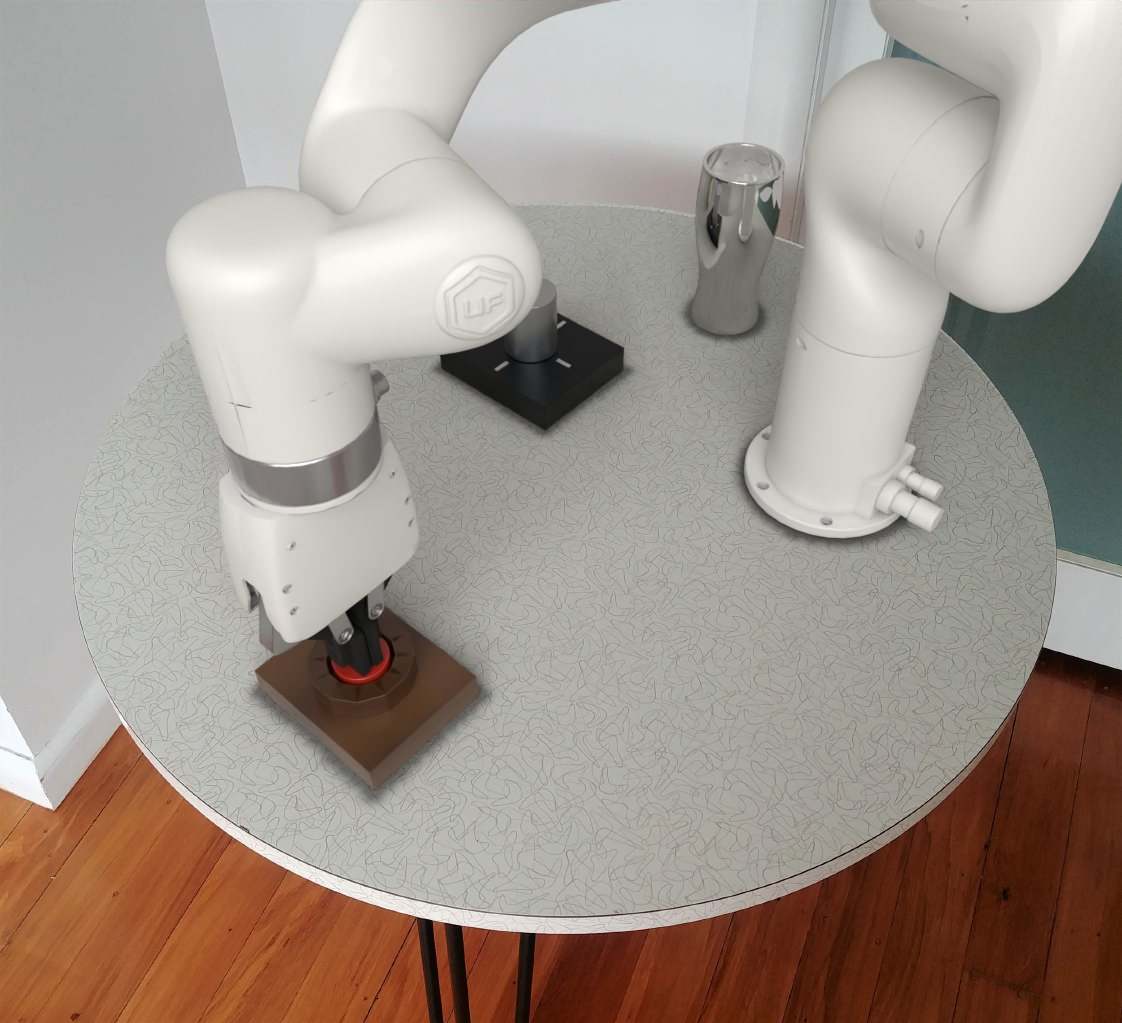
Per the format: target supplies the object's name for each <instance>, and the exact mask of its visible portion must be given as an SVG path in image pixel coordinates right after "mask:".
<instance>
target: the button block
mask: <svg viewBox="0 0 1122 1023" xmlns="http://www.w3.org/2000/svg"><path fill="white" fill-rule="evenodd" d="M377 619H378V623H379V628H380V633H381V638H383V639H384V640H385V642H386V643H387V644H388V647H389V650H390V655H391V659H392V665H391V668H390V670H389V671H388V672H387V673H386V674H384V675H383V676H382V677H381V678H380V679H379V680H377V681H374V682H371V683H367V684H364V685H360V686H356V685H350V684H344V683H341V682H339V681H338V680H337V679H336V677H335V673H334V670H333V666H332V662H331V658H330V657H329V655H328V653H327V651H326V647H325V644H324V640H308V639H305V640H302V643H300V644H298V645H297V646H295V647H293V648H291V649H289V650H288V651H286V652H284V653H282V654H281V655H278V656H275V655H273V656H271V657H270V658H268V659H267V660H266V661H265V662H263V663H262V664H261V665H260V666H258V667H257V668H256V669H255V670H254V674H255V676H256V679H257V682H258V684H259V687H260V689H261V691H262V692H263V693H264V694H266V695H267V696H268V697H269V698H270V699H271V701H272V700H273V702H274V703H275V704H277V705H278V706H279V707H280V708H281V709H283V710H284V712H286V713H287V714H288V715H289V716H290V717H291V718H292V719H294V720H295V721H296V722H297V723H298V724H299V725H301V727H302V728H303V729H305V730H306V731H307V732H308V733H309V734H310V735H311V736H313V737H314V738H315V739H316V740H317V741H318V742H319V743H320V744H322V745H323V746H324V747H325V748H326V749H327V750H328V751H329V752H331V753H332V754H333V755H334V756H335V757H336V758H337V759H338V760H340V761H341V762H342V763H343V765H345V766H346V767H347V768H349V769H350V770H351V771H352V772H353V773H354V774H356V776H357V777H358V778H360V779H361V780H362V781H363V782H364V783H366V784H367V786H369V787H370V788H371V789H372V790H374V791H376V790H377V789H379V787H381V786H382V785H383V784H384V783H385V782H386V781H387V780H388V779H389V778H390V777H391V776H392V775H393V774H395V773H396V772H397V771H398V770H399V769H400V768H401V767H402V766H403V765H405V763H407V761H409V760H410V759H411V758H412V757H413V756H414V755H415V754H416V753H418V751H420V750H421V749H422V748H423V747H424V746H425V745H426V744H428V743H429V741H430V740H432V739H433V738H434V737H435V736H436V735H437V734H438V733H439V732H440V731H441V730H443V728H445V727H446V726H447V725H448V724H449V723H450V722H451V721H452V720H454V719H455V718H456V717H457V716H458V715H459V714H460V713H461V712H462V711H463V710H464V709H466V708H467V707H468V706H469V705H470V704H471V703H472V702H473V701H474V700H475V699H477V697H479V687H478V679H477V678H478V677H477V675H476V674H474V673H473V672H472V671H471V670H469V669H467V667H465V666H464V665H462V664H461V663H460V662H458V661H457V659H455V658H454V657H452V656H451V655H449V654H448V653H447V652H446V651H444V650H443V649H442V648H440V647H439V646H438V645H437V644H435V643H434V642H433V641H431V640H430V639H429V638H427V637H426V636H424V635H423V634H422V633H421V632H420V631H418V630H417V629H416V628H414V627H413V626H412V625H411V624H409V623H408V622H407V621H406V620H404V619H402V618H401V617H400V616H399V615H397V613H395V612H393V611H392V610H391V609H390V608H388V607H387V606H386V605H384V610H383V612H382V614H381V615H380V616H379V617H378V618H377Z"/></svg>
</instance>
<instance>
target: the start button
mask: <svg viewBox="0 0 1122 1023" xmlns="http://www.w3.org/2000/svg"><path fill="white" fill-rule="evenodd" d="M379 641H380V646H381V650H382V655H383V661H382V662H381V663H380V664H379V665H377V666H375V665H374V666H371V668H370V672H369V673H368V674H367V675H366V676H364V677H362V676H361V675H360V674H358V673H357V672H356V671H355V670H354V669H352V668H351V667H350V666H349V665H347V666H346V667H345V668H341V667H340V666H338V665H337V664H336V663H335V662H334V661H333V660H332V659H331V662H332V666H333V670H334V673H335V677H336V679H337V680H338V681H339V682H341V683H344V684H350V685H356V686H360V685H364V684H367V683H371V682H374V681H377V680H379V679H380V678H381V677H382V676H383V675H384V674H386V673H387V672H388V671H389V670H390V668H391V665H392V659H391V655H390V650H389V647H388V644H387V643H386V642H385V640H384V639H383V638H380V639H379Z"/></svg>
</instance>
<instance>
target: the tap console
mask: <svg viewBox="0 0 1122 1023" xmlns="http://www.w3.org/2000/svg"><path fill="white" fill-rule="evenodd" d="M624 358H625V347H624V346H622V345H620V344H619V343H617V342H615V341H613V340H611V339H609V338H607V337H606V336H603V335H601V334H599V333H598V332H596V331H593V330H591V329H590V328H588V327H586V326H583V325H582V324H580V323H579V322H576V321H574V320H572V319H571V318H569V317H567V316H565V315H563V314H561V313H559V312H557V350H556V352H555V353H554V354H553V355H552V356H551V357H549V358H548V359H546V360H543V361H539V362H522V361H518V360H516V359H514V358H512V357H511V356H510V355H509V354H508V353H507V352H506V349H505V337H504V336H502V337H500V338H498V339H496V340H494V341H492V342H490V343H488V344H485V345H482V346H480V347H476V348H472V349H469V350H465V351H461V352H456V353H449V354H443V355H439V359H440V367H441V370H443V371H444V372H446V373H448V374H449V375H451V376H453V377H455V378H456V379H457V380H459V381H461V382H463V383H464V384H466V385H468V386H470V387H471V388H472V389H474V390H476V391H478V392H480V393H482V394H483V395H484V396H486V397H488V398H490V399H491V400H493V401H494V402H497V403H499V404H500V405H502V406H503V407H505V408H507V409H508V410H510V411H512V412H513V413H515V414H517V415H519V416H520V417H521V418H523V419H525V420H526V421H529V423H532V424H533V425H535V426H537V427H538V428H540V429H541V430H544V431H547V430H548V429H550V428H551V427H552V426H553V425H555V424H556V423H557V422H559V421H560V420H562V419H563V418H564V417H565V416H566V415H567V414H569V413H570V412H572V411H573V410H575V408H577V407H578V406H579V405H581V404H582V403H583V402H584V401H586V400H587V399H588V398H590V397H591V396H592V395H593V394H595V393H596V392H597V391H598V390H600V389H601V388H602V387H605V385H606V384H608V383H609V382H610V381H612V380H613V379H614V378H615V377H617V376H618V375H620V374H621V373H622V372H623V371H624V361H625V359H624Z"/></svg>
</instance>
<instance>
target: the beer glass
mask: <svg viewBox="0 0 1122 1023" xmlns="http://www.w3.org/2000/svg"><path fill="white" fill-rule="evenodd" d="M785 170H786V162H785V160H784V158H783V156H782V155H781V154H779V153H778V152H777V151H776V150H773V149H772V148H769V147H768V146H766V145H761V144H757V143H753V142H738V141H737V142H728V143H722V144H720V145H717V146H714V147H712V148H711V149H709V150H708V151H706V153H705V154H704V156H703V159H702V167H701V171H700V176H699V182H698V186H697V194H696V200H695V201H696V203H695V212H694V213H695V215H694V216H695V217H694V229H695V230H694V232H695V246H696V254H697V265H698V279H697V280H698V281H697V287H696V291H695V293H694V297H693V300H692V302H691V307H690V316H691V320H692V321H693V322H694V323H695V325H696V326H698V327H699V328H700V329H702V330H703V331H706V332H708V333H711V334H714V335H719V336H736V335H740V334H743V333H746V332H748V331H750V330H751V329H752V328H754V327H755V326H756V324H757V322H758V320H759V314H760V312H759V311H760V310H759V295H758V294H759V287H760V282H761V277H762V274H763V271H764V268H765V265H766V263H767V260H768V257H769V255H770V252H771V249H772V247H773V245H774V241H775V238H776V235H777V234H776V233H777V231H778V226H779V222H780V216H781V211H782V204H783V203H782V202H783V194H784V180H785Z"/></svg>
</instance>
